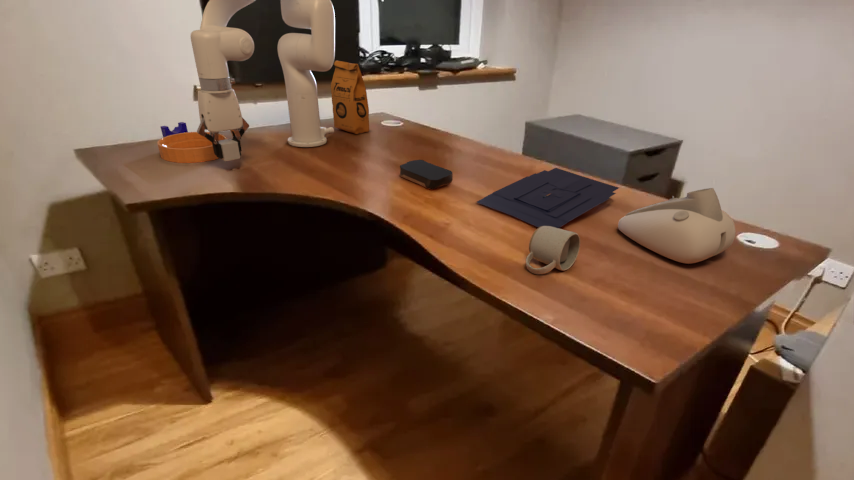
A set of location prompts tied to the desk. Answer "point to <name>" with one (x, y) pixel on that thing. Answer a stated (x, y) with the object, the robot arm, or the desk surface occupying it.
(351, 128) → the coffee package
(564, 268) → the ceramic mug
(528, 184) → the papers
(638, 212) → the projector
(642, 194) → the desk surface
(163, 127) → the cable holder
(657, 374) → the desk surface
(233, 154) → the block
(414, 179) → the black sponge
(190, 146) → the bowl
